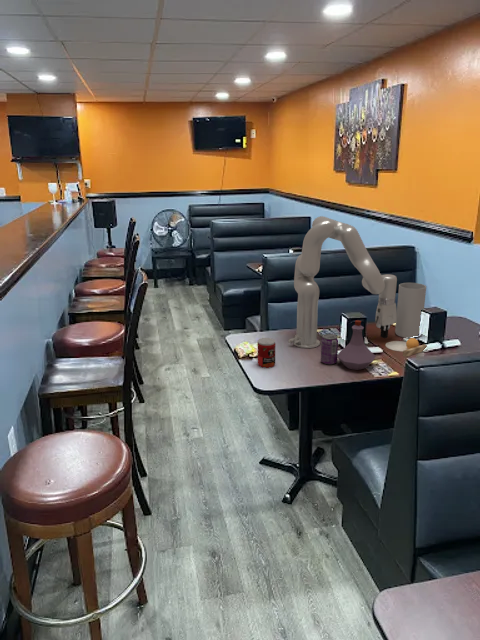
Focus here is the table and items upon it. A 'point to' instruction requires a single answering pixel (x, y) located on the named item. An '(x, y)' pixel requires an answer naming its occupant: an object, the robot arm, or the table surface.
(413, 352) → the stopper rail
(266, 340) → the canned food
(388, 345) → the mark
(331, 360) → the beverage can
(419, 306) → the cylinder vase
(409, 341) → the ball
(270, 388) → the table surface
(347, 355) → the flask
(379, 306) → the robot arm
